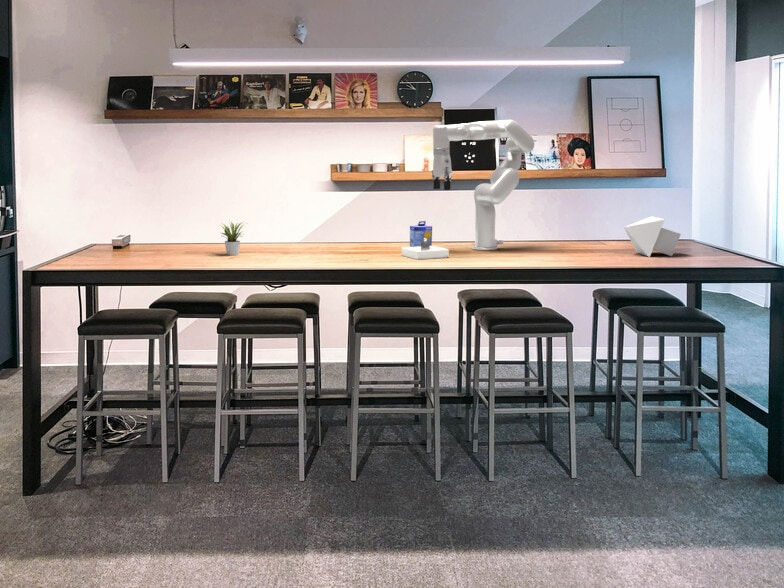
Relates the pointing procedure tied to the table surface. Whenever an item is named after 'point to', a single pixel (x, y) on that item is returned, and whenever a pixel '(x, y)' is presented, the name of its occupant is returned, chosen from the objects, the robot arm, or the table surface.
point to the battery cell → (425, 244)
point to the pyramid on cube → (652, 236)
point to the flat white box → (425, 253)
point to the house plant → (232, 239)
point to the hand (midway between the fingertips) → (441, 189)
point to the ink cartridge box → (420, 234)
